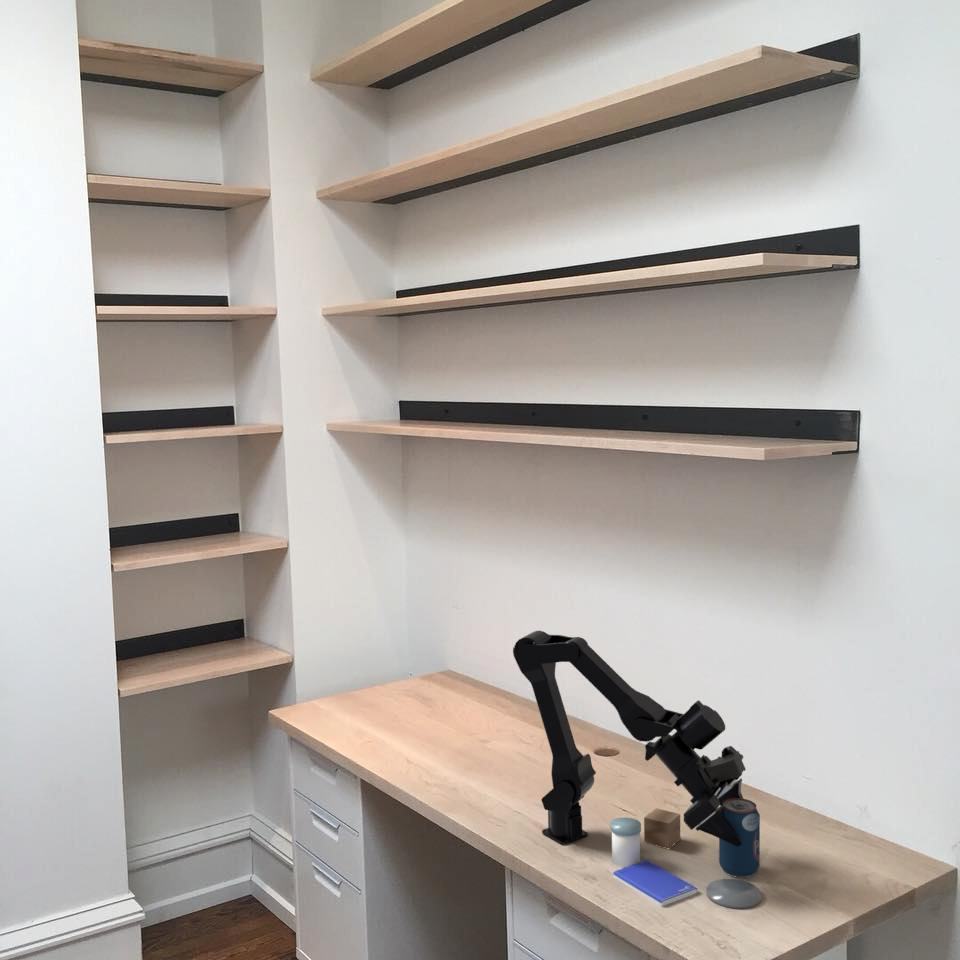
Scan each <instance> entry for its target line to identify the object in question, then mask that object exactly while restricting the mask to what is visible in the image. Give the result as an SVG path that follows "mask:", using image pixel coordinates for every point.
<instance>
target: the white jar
mask: <svg viewBox="0 0 960 960" xmlns="http://www.w3.org/2000/svg"><path fill="white" fill-rule="evenodd" d="M610 830H611V860H612V861H611V862H612V864H613V865H615V866H617V867H619V866H621V867H620V868H624V867H629V866H632V865H634V864H637V863H640V862H641V832H642V823H641V821H639V820H638V819H635V818H632V817H617V818H614V819H612V820H611V821H610Z"/></svg>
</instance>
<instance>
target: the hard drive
mask: <svg viewBox="0 0 960 960" xmlns="http://www.w3.org/2000/svg"><path fill="white" fill-rule="evenodd" d="M612 873H613V874H612V876H613V878H614V879H615V880H617V881H619V882H621V883H622V884H624V885H626V886H627V887H629V888H631V889H632V890H633V889H634V891H635V892H637V893H638V892H639V893H638V894H640V893H641V894H640V895H642V896H643V895H644V896H643V897H645V898H647V899H649V901H651V902H653V903H654V904H657V905H658V906H659V907H664V906H667V905H669V904H671V903H674V902H676V901H677V902H678V901H680V900H682V899H686V898H688V897H690V896H693V895H695V894H698V892H699V891H698V887H696V886H694V885H693V884H691V883H689V882H688V881H685V880H684V879H682V878H680V877H679V876H676V875H674V874H673V873H672V872H669V871H668V870H666V869H664V868H663V867H661V866H659V865H657V864H655V863H653V862H652V861H650V860H648V859H647V860H643V861H640V863H637V864H634V865H632V866H629V867H626V868H624V867H622V868H620V869H618V870H615V871H613V872H612Z"/></svg>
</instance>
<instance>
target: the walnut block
mask: <svg viewBox="0 0 960 960" xmlns="http://www.w3.org/2000/svg"><path fill="white" fill-rule="evenodd" d="M643 818H644V819H643V823H644V824H643V827H644V828H643V831H644V833H643V835H644V837H643V839H644V842H647V843H651V844H654V845H653V846H655V845H658V846H661V847H660V848H662V847H666V848H670V847H671V846H672V845H673V844H674V843H676V842H677V841H678V840H679V839H680V840H681V813H677V812H673V811H669V810H666V809H665V810H664V809H661V808H657V807H656V808H654V809H653V810H652V811H651V812H649V813H648V814H647V815H646V816H644V817H643ZM680 840H679V841H680ZM679 841H678V842H679ZM644 842H643V843H644ZM678 842H677V843H678ZM647 843H646V844H647ZM677 843H676V844H677ZM651 844H650V845H651ZM674 845H675V844H674ZM674 845H673V846H674ZM658 846H657V847H658ZM673 846H672V847H673ZM672 847H671V848H672ZM666 848H665V849H666ZM671 848H670V849H671Z"/></svg>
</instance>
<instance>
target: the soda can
mask: <svg viewBox="0 0 960 960" xmlns="http://www.w3.org/2000/svg"><path fill="white" fill-rule="evenodd" d="M723 804H724V816H725V818H726V819H727V821H728V822H729V824H730V825H731V826H732V828H733V829H734V831H735V832H736V833H737V835H738V836H739V838H740V840H741V841H742V845H740V846H739V847H737V846H735V845H732V844H730V843H728V842H726V841H724V840H722V839H720V838H718V863H719V865H720V867H721V869H722V871H723V873H725V874H726V873H727V875H728V874H729V875H728V876H730V875H731V876H730V877H733V876H736V877H735V878H738V877H746V878H748V877H747V876H751V877H752V875H753V874H754V875H755V874H756V873H757V871H758V870H759V868H760V865H761V864H760V863H761V862H760V861H761V860H760V857H761V856H760V853H761V851H760V841H761V838H760V837H761V836H760V835H761V832H760V830H761V829H760V828H761V825H760V824H761V823H760V821H761V820H760V818H761V815H760V812H759V811H758V809H757V804H756V803H755V802H754V801H752V800H749V799H745V798H744V799H741V798H732V799H727V800H725V801H724V802H723ZM754 875H753V876H754Z"/></svg>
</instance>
